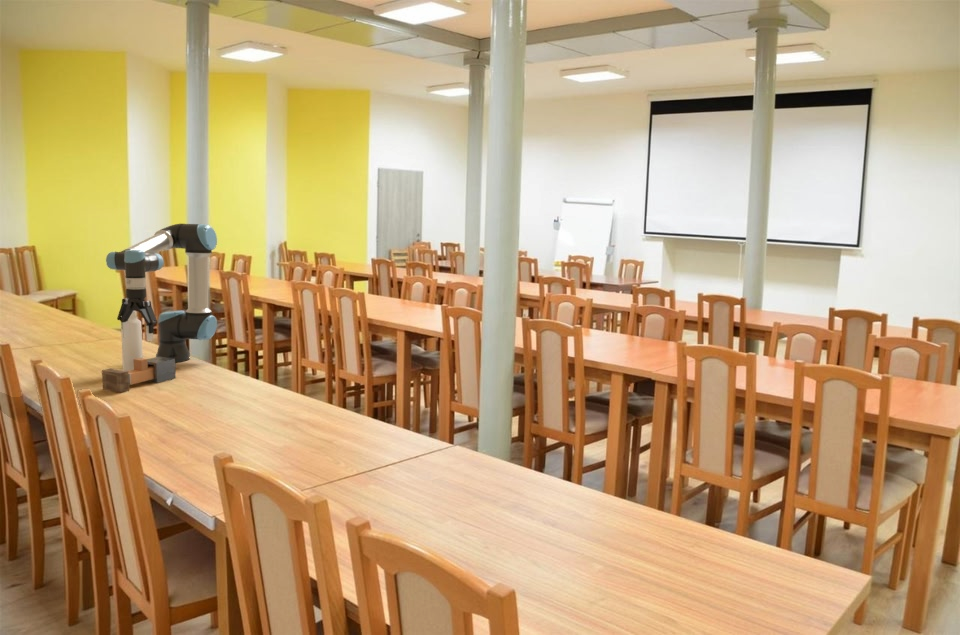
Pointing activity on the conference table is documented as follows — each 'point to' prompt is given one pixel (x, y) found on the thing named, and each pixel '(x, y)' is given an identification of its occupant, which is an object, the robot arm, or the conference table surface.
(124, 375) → the brown rectangular block
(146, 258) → the robot arm
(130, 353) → the bottle
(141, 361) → the inner bar
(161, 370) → the sleeve
